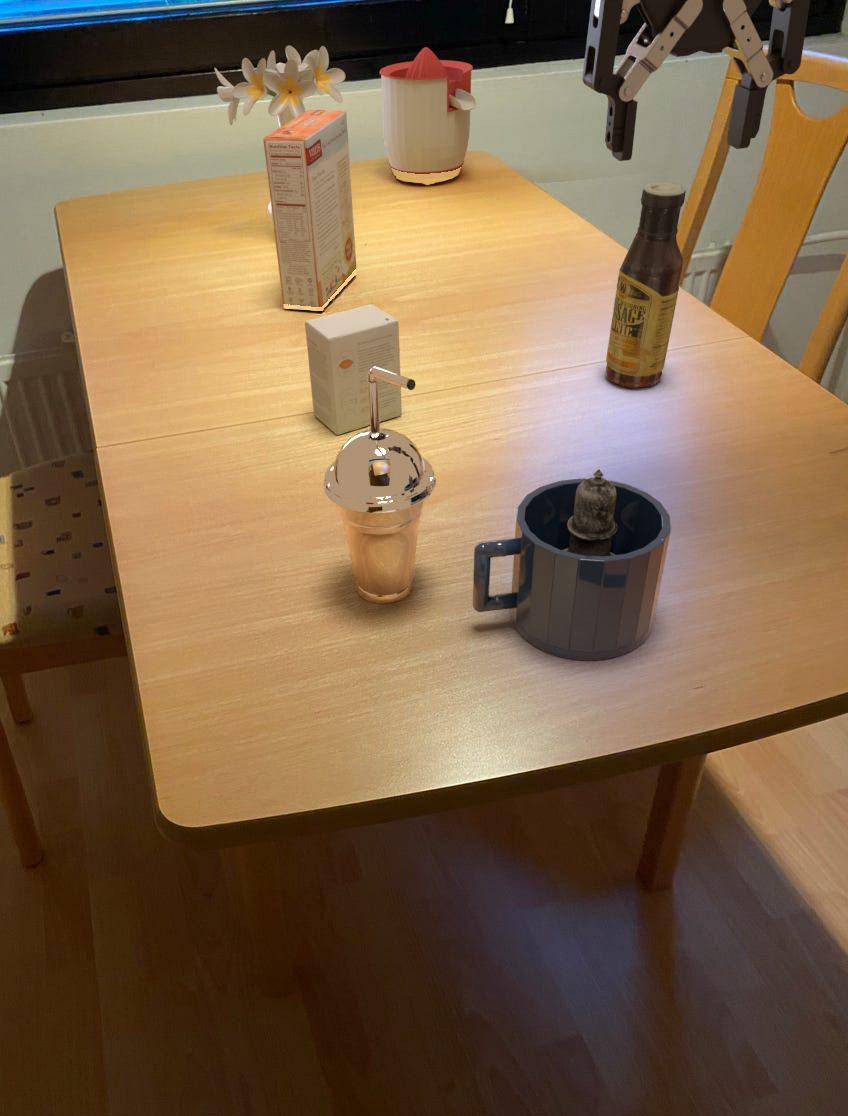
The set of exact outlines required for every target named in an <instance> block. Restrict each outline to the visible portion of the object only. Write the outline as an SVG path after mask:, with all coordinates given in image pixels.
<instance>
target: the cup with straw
mask: <svg viewBox="0 0 848 1116" xmlns="http://www.w3.org/2000/svg"><path fill="white" fill-rule="evenodd" d="M378 378H380V379H382V380H385V381H387V382H390V383H393V384H395V385H398V386H401V388H403V389H406V390H408V391H413V390H414V389H415V388H416V381H415V380H414V379H411V378H409V377H407V376H403V375H401V374H400V375H399V374H396V373H393V372H390V371H388V370H385V369H382V368H379V367H376V366H375V367H372V368H371V369H370V370H369V373H368V392H369V411H370V425H369V426H370V427H369V428H368V429H366V430H362V431H360V432H358V433H356V434H355V435H353V436H351V437H350V438H349V439H347V440H346V441H345V442H344V444H342V446H341V447H340V448H339V451H338V453H337V455H336V457H335V460H334V461H333V462H332V463H331V464H330V465H329V466H328V468H327V469H326V472H325V473H324V478H323V479H324V480H323V484H322V487H323V491H324V494H325V496H326V498H327V499H329V501H331V502H332V503H333V504H335V505H336V510H337V511H338V514H339V517H340V520H341V522H342V524H343V529H344V533H345V538H346V544H347V548H348V553H349V559H350V563H351V568H352V573H353V577H354V581H355V583H356V591H357V593H358V595H359V597H361V598H362V599H364V600H365V601H368V602H371V603H374V604H391V603H395V602H399V601H401V600H403V599H405V598H406V597H407V596H408V595H410V593H411V591H412V589H413V583H412V581H413V578H414V572H415V564H416V556H417V545H418V538H419V529H420V520H421V517H422V515H423V509H424V506H425V502H426V500H427V499H428V498H429V497H430V496H431V495H432V493H434V491H435V488H436V486H437V478H436V475H435V470H434V468H433V465H431V463H430V462H429V461H428V460H427V459H426V458H425V457H423V456H422V454H421V452H420V450H419V448H418V446H417V445H416V444H415V443H414V441H412V440H411V439H410V438H409V437H407V436H406V435H405V434H403V433H401V432H400V431H396V430H394V429H391V428H384V427H383V428H382V427H381V424H380V423H381V422H380V420H379V397H378Z"/></svg>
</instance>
